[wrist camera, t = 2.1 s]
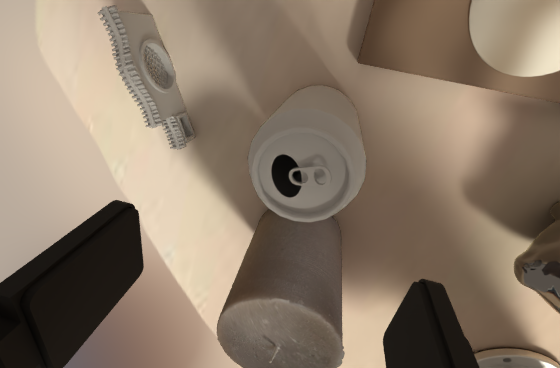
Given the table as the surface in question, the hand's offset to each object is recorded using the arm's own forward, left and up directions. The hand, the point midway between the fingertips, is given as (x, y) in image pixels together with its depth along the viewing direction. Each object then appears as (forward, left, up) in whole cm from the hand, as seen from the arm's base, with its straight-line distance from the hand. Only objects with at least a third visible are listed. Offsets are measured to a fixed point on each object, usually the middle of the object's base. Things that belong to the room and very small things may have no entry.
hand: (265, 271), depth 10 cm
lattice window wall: (+15, -1, -20) cm, 25 cm away
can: (0, 0, -20) cm, 20 cm away
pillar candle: (-1, +13, -20) cm, 24 cm away
